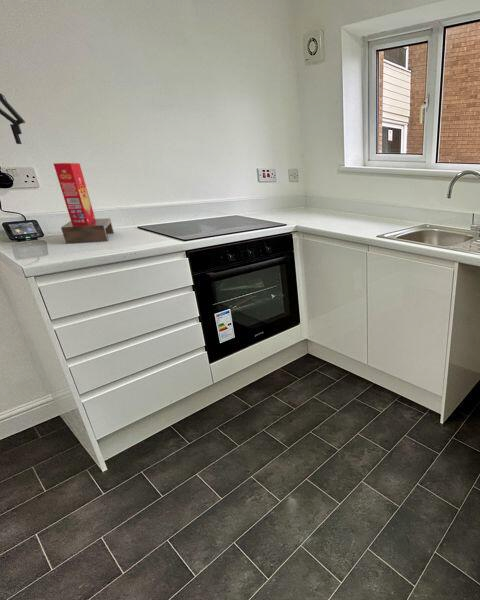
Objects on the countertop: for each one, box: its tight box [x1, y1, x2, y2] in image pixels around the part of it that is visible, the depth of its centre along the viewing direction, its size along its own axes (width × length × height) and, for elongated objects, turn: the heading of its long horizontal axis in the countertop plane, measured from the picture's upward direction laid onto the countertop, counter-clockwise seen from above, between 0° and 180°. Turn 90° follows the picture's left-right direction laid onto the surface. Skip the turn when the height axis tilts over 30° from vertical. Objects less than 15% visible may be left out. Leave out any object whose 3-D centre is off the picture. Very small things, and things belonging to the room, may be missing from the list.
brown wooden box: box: [60, 217, 115, 245], centre depth 160 cm, size 14×22×7 cm, turn 31°
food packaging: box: [53, 162, 96, 225], centre depth 153 cm, size 15×5×25 cm, turn 29°
